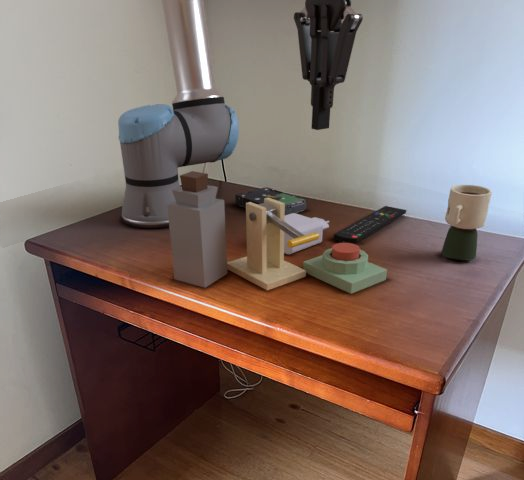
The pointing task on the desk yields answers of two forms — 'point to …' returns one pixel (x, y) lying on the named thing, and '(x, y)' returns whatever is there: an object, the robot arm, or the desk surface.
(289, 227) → the t-handle lever
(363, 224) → the remote control
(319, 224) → the charger
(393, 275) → the desk surface
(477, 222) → the character mug
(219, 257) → the perfume bottle
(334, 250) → the button
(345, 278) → the button box
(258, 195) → the disk drive
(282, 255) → the bracket
